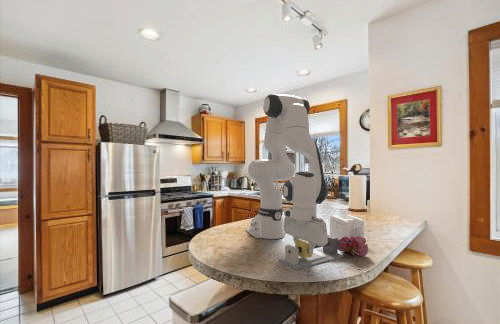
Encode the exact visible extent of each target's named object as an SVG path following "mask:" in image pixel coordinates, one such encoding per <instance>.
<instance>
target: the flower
mask: <svg viewBox="0 0 500 324" xmlns="http://www.w3.org/2000/svg"><path fill="white" fill-rule="evenodd" d="M366 243H367V239H366V238H365V237H364V238H363V237H361V236H357V237H350V238H348V237H343V238H342V239H340V240H338V251H340V252H343V253H345V252H346V253H349V254H350V255H352V256H353V258H354V259H355V261H357V259H356V258H355V255H356V254H357V255H358V256H360V257H363V258H364V257H366V256H367V254H368V251H369V248H368V247H369V246H368V243H367V244H366Z"/></svg>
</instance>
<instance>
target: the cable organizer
mask: <svg viewBox="0 0 500 324" xmlns="http://www.w3.org/2000/svg"><path fill="white" fill-rule="evenodd" d="M329 235H330V236H334V237H337V238H338V240H340V239H342V238H343V237H348V238H350V237H357V236H361V237H363V238H365V221H364V220H363V219H362V218H360V217H357V216H353V215H351V214H345V215H344V218H343V217H339V216H337V215H330V216H329Z"/></svg>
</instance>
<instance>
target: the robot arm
mask: <svg viewBox="0 0 500 324" xmlns="http://www.w3.org/2000/svg"><path fill="white" fill-rule="evenodd" d="M262 106H263V112H264V114H265V116H267V120H266V123H265V124H266V126H265V129H264V141H263V147H264V149H265V150H266V151H267V152H269V153H270V155H271V159H264V158H263V159H261V158H260V159H254V160H252V161H250V162H249V165H248V168H247V173H248V176H249V177H250V179H251V180H253V181H254V182H255V184H256V186H257V187H258V190H259V196H260V197H259V198H260V202H259V203H260V206H259V207H258V208H257V211H258V213H257V215H255V216H254V217H253V218H252V219H251V220H250V227H247V228H246V229H245V231H246V232H247V233H248V234H250V235H251V236H253V237H254V238H255V239H266V240H267V239H268V240H269V239H270V240H276V239H281V238H282V239H283V238H285V234H287V235H289V236H292V239H293V242H294V243H295V241H298V240H305V241H307V242H309V245H310V247H309V248H308V249H307V253H308V254H310V255H311V254H313V250H315V249H316V248H315V246H316V245H318V246H325V245H326V244H327V243H328V235H329V234H328V229H327V223H326V222H325V220H324V219H323V218H319V217H317V210H318V209H317V208H318V207H317V204H318V205H320V204H322V203H323V202H324V201H325V200H326V199H327V197H328V196H329V190H328V185H327V182H326V180H325V175H324V170H323V165H322V159H321V154H320V150H319V146H318V144H317V143H316V142H315V141H314V140H313V139H312V137H311V133H310V122H309V113H310V106H311V104H310V103H309V100H308V99H306V98H303V97H302V96H301V97H299V96H295V95H291V94H277V93H271V94H268V95H267V96H266V97H265V98H264V101H263V105H262ZM287 148H288V149H290V150H291V151H293V152H295V153H298V154H300V155H302V156H304V157H305V158H306V159H307V161H308V163H309V169H310V172H309V171H297V172H295V171H296V170H295V169H296V168H295V165H294V164H293V162H292V161H291V159H289V157H288V154H287ZM274 181H276V182H279V181H282V182H283V181H285V183H284V184H283V185H282V192H281V190H280V189H279V188H277V187H275V184H274ZM283 198H284V199H285V200H286V201H287V202H290V203H293V204H292V208H291V209H287V210H284V211H283V205H282V204H283ZM283 215H284V218H283ZM314 248H315V249H314Z"/></svg>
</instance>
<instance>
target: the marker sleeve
mask: <svg viewBox="0 0 500 324" xmlns="http://www.w3.org/2000/svg"><path fill="white" fill-rule="evenodd" d="M294 247H295V248H299V247H301V248H302V252H298V256H300V257H302V258H309V257H312V254H311V255H310V254H308V253H307V249H308V248H309V247H310V245H309V242H307V241H305V240H302V239H299V240H298V241H295V242H294Z"/></svg>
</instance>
